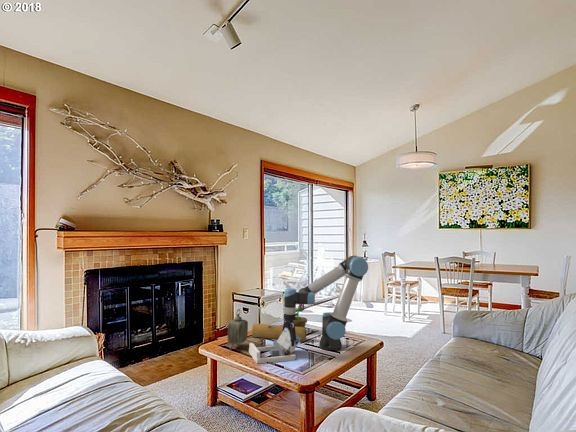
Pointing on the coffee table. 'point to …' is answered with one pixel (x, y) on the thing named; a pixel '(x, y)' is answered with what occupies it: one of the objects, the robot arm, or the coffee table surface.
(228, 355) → the coffee table surface
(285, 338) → the light bulb box
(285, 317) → the robot arm
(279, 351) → the pusher
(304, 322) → the flowerpot
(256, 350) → the open rectangular frame
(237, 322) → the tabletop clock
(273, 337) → the log
